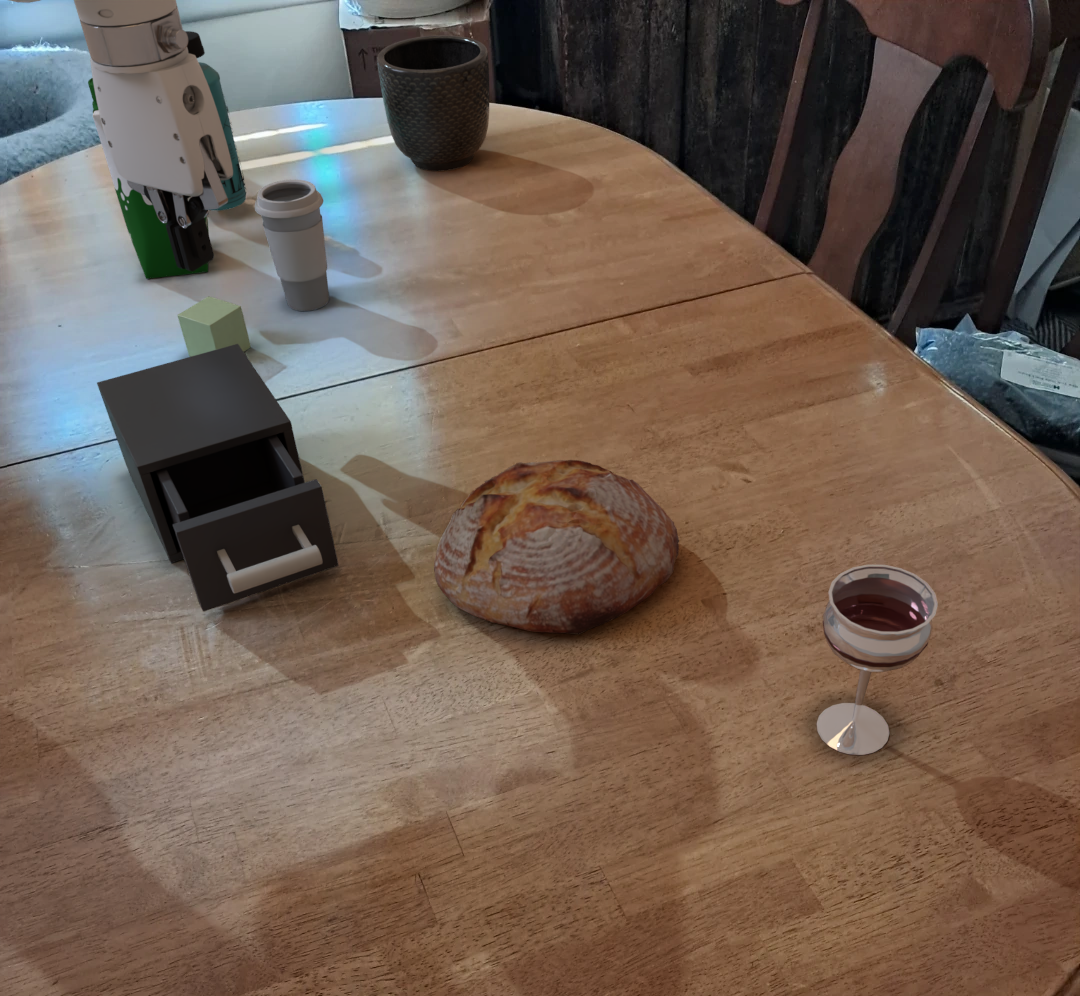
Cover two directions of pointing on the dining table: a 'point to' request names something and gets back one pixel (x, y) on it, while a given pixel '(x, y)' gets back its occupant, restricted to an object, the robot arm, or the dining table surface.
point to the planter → (436, 98)
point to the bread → (555, 547)
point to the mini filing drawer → (246, 521)
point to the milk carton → (142, 218)
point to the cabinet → (189, 420)
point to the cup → (296, 241)
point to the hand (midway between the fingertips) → (196, 263)
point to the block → (213, 326)
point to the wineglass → (872, 644)
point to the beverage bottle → (236, 182)
